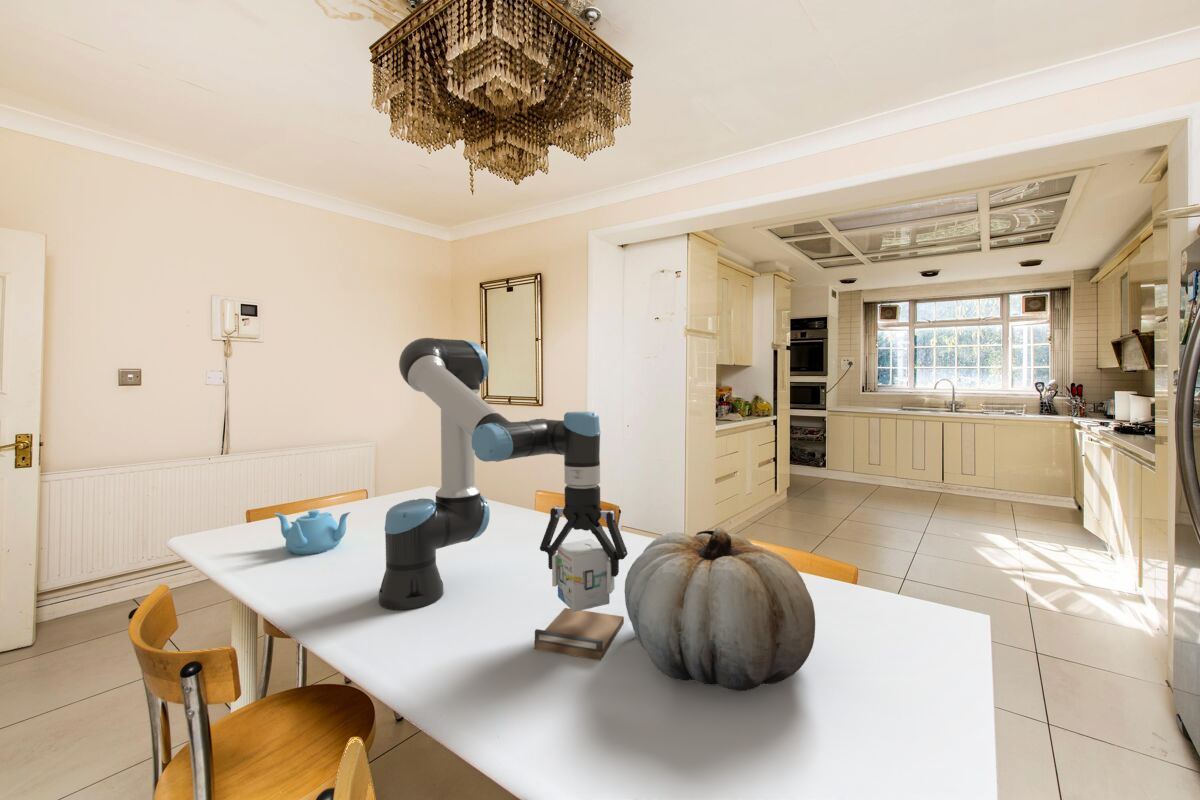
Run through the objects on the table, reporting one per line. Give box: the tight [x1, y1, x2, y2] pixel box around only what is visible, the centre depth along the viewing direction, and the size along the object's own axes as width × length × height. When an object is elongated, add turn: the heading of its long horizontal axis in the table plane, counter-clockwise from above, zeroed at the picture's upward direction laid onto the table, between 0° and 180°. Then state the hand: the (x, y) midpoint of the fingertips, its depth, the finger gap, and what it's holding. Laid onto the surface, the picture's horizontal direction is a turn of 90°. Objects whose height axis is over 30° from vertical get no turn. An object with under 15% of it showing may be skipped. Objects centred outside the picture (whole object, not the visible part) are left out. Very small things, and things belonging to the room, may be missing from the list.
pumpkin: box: [624, 527, 816, 692], centre depth 98 cm, size 37×36×25 cm
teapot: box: [273, 509, 351, 555], centre depth 164 cm, size 17×19×12 cm
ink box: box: [557, 538, 611, 612], centre depth 107 cm, size 8×8×12 cm
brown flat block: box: [533, 607, 625, 661], centre depth 106 cm, size 14×16×4 cm
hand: (583, 587), depth 107 cm, fingers closed on ink box, 11 cm apart
